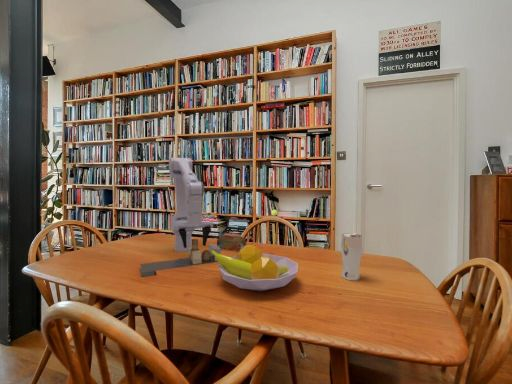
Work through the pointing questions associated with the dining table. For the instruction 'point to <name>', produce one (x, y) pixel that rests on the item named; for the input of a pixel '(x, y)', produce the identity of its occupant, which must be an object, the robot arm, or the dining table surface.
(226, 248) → the tin
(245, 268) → the fruit bowl
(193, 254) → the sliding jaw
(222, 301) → the dining table surface
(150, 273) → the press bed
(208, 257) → the walnut
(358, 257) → the beer glass
